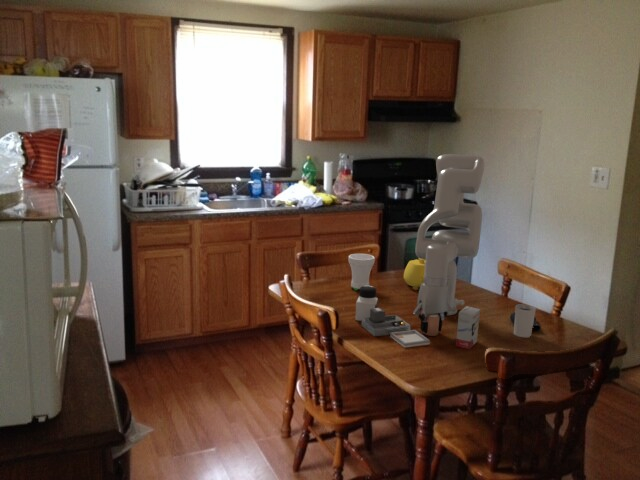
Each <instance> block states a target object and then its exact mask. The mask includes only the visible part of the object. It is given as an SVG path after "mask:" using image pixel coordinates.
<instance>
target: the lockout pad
mask: <svg viewBox="0 0 640 480" xmlns="http://www.w3.org/2000/svg"><path fill="white" fill-rule="evenodd" d="M389 338H391V339H393V340H394V341H395V342H396V343H398V344H399V345H400V346H401V347H403V348H411V347H418V346H427V345H430V344H431V340H430V339H429V338H427V336H425V335H424V334H423V333H420V332H419V331H417V329H412V330H411V329H410V330H409V331H401V332H392V333H390V336H389Z"/></svg>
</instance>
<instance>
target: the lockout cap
mask: <svg viewBox="0 0 640 480" xmlns="http://www.w3.org/2000/svg"><path fill="white" fill-rule="evenodd" d="M439 317H440V316H439V315H438V313H435V314H429V316H428V319H427V321H426V322H428V328H427V333H424V332H422V334H423V335H426V336H431V337H435V336H438V335H439V331H438V328H439Z"/></svg>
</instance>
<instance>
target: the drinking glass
mask: <svg viewBox="0 0 640 480" xmlns="http://www.w3.org/2000/svg"><path fill="white" fill-rule="evenodd" d="M536 309H537V308H536V307H535V306H533V305H530V304H525V303H524V304H523V303H522V304H516V305H515V309H514V310H515V311H514V313H515V322H514V324H513V325H514V326H513V335H515V336H517V337H520V338H530V336H531V337H532V333H533V331H532V328H533V322H534V316H535V317H536Z"/></svg>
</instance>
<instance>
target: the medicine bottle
mask: <svg viewBox="0 0 640 480" xmlns="http://www.w3.org/2000/svg"><path fill="white" fill-rule="evenodd" d="M358 293H359V295H358V298H357V299H356V302H355V321H358V322H362V319H365V318H369V317H370V309H374V308H378V303H379V298H378V297H377V289H376V287H375V286H372V285H369V286H362V287H360V289H359V292H358Z"/></svg>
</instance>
